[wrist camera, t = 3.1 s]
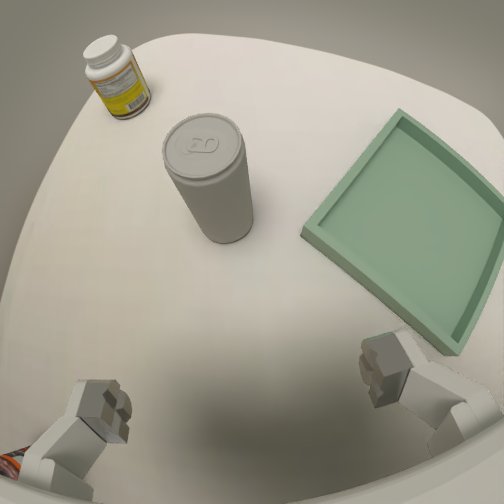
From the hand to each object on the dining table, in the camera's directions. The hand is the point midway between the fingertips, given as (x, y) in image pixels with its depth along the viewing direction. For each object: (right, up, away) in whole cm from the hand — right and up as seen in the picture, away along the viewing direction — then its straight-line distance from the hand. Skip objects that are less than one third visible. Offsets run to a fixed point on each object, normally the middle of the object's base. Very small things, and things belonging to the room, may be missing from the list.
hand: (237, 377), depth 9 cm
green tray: (+17, +6, +18) cm, 26 cm away
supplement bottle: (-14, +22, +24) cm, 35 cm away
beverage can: (-2, +7, +19) cm, 20 cm away
